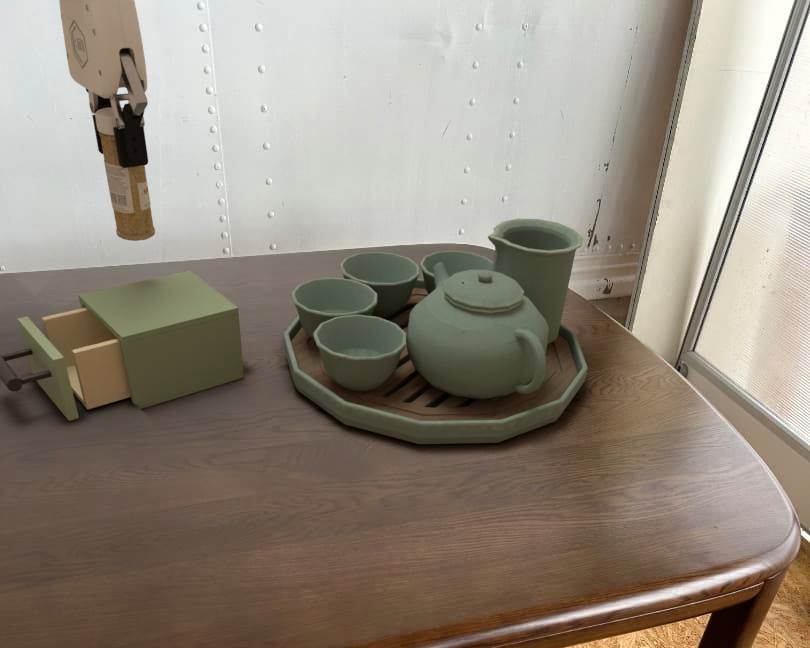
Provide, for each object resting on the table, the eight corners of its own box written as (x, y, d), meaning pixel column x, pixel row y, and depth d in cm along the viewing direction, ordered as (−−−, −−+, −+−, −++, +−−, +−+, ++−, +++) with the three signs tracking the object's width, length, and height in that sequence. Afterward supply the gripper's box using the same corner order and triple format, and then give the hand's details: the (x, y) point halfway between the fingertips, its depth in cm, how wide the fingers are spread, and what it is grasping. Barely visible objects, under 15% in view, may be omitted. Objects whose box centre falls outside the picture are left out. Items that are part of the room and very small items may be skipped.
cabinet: (135, 411, 94) (121, 337, 87) (94, 366, 101) (78, 294, 94) (244, 377, 101) (238, 307, 94) (198, 338, 108) (189, 270, 102)
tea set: (395, 278, 127) (401, 170, 116) (626, 359, 111) (658, 243, 100) (219, 373, 101) (205, 246, 90) (487, 495, 86) (510, 359, 75)
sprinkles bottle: (163, 236, 94) (146, 113, 86) (128, 245, 92) (107, 118, 83) (142, 225, 97) (124, 103, 88) (108, 232, 94) (86, 108, 85)
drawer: (25, 434, 87) (6, 371, 82) (-8, 388, 94) (-28, 328, 88) (178, 388, 96) (169, 329, 91) (138, 350, 103) (128, 293, 98)
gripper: (21, -53, 79) (61, 143, 91) (90, -28, 70) (124, 186, 82) (94, -52, 83) (123, 135, 95) (168, -29, 74) (189, 176, 86)
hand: (123, 157), depth 88 cm, fingers closed on sprinkles bottle, 4 cm apart
